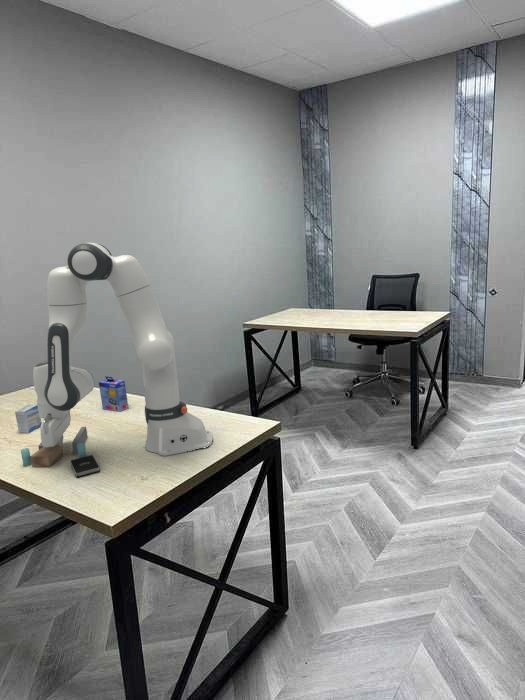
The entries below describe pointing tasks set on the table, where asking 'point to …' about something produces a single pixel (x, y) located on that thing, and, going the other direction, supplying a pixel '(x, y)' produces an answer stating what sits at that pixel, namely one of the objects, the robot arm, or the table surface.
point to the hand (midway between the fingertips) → (59, 448)
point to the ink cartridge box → (113, 394)
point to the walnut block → (46, 456)
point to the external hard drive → (85, 466)
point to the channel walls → (76, 439)
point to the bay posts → (27, 459)
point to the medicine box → (28, 419)
